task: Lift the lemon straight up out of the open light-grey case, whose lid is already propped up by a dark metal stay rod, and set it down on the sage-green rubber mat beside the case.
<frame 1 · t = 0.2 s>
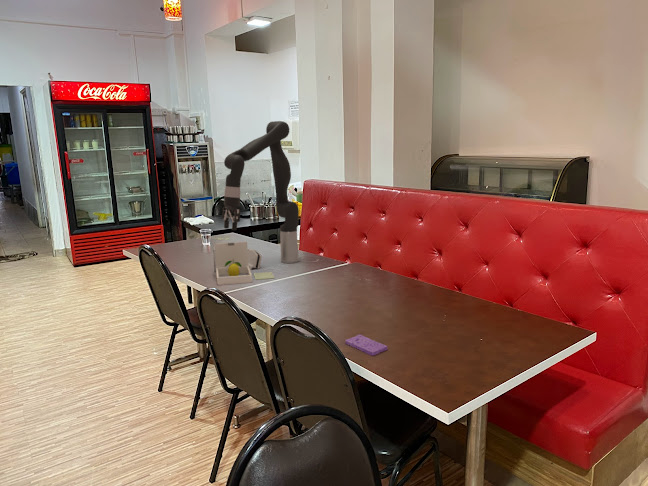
hand: (230, 229, 240), 23 cm above the table, tool pointing down, fingers open, 8 cm apart
case: (233, 278, 237), on the table
mat: (263, 276, 240), on the table
lemon: (233, 279, 237), resting in case
sponges: (366, 348, 157), on the table
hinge: (250, 266, 261), on the table
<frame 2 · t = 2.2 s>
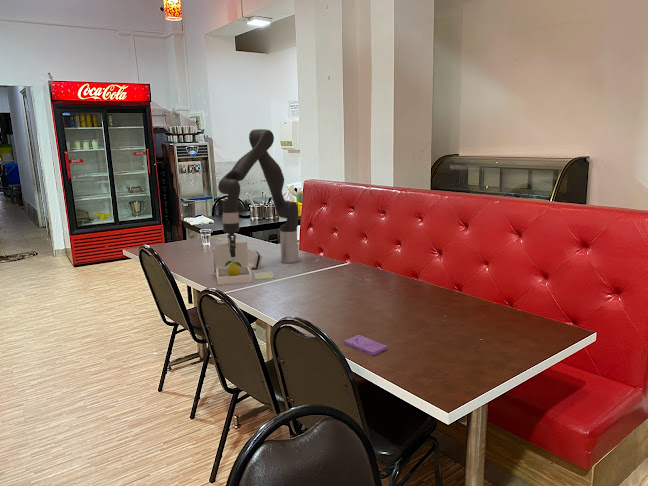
hand: (232, 255, 234), 12 cm above the table, tool pointing down, fingers open, 8 cm apart
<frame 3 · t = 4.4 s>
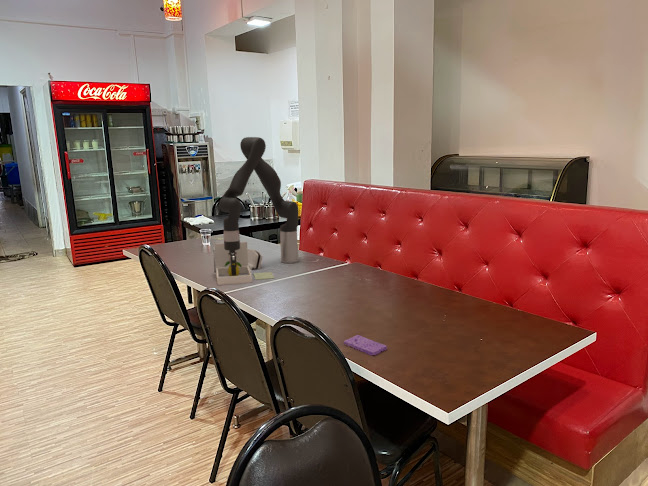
hand: (233, 273, 236), 3 cm above the table, tool pointing down, fingers closed on lemon, 5 cm apart
lemon: (233, 279, 237), resting in case, touching gripper
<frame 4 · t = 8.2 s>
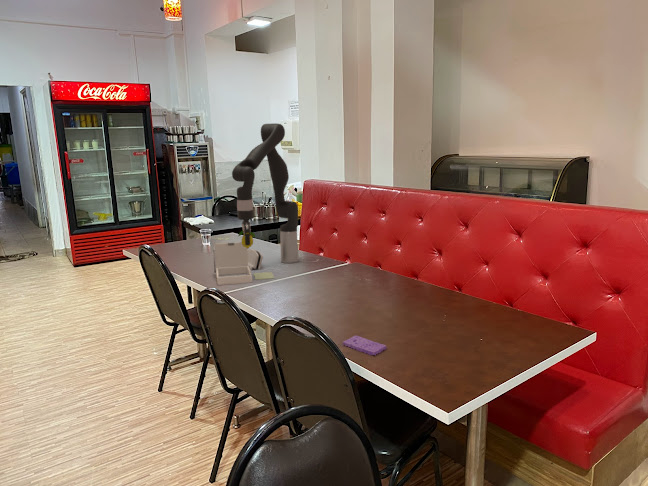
hand: (247, 243, 236), 17 cm above the table, tool pointing down, fingers closed on lemon, 5 cm apart
lemon: (247, 249, 236), point 14 cm above the table, touching gripper
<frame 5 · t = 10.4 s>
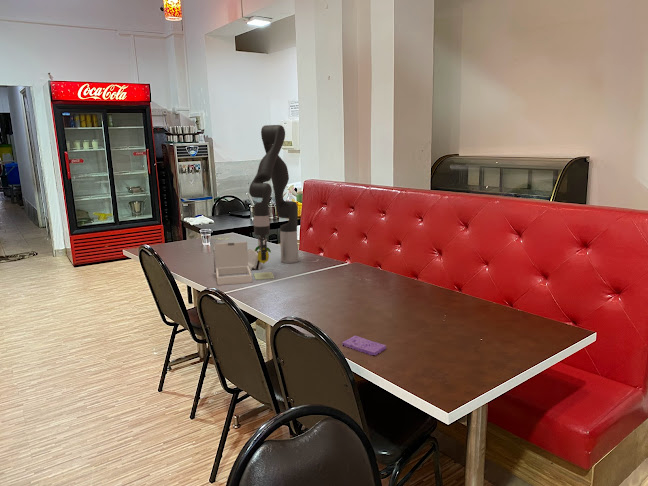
hand: (263, 258, 238), 9 cm above the table, tool pointing down, fingers closed on lemon, 5 cm apart
lemon: (263, 264, 239), point 6 cm above the table, touching gripper
when the fingers open (4 cm above the table, at t = 11.8 s): lemon drops 1 cm, resting on mat.
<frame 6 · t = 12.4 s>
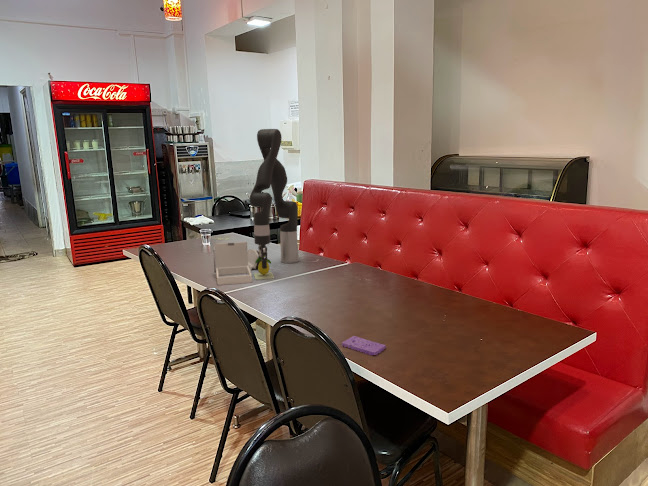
hand: (263, 266, 239), 5 cm above the table, tool pointing down, fingers open, 8 cm apart
lemon: (263, 275, 240), resting on mat
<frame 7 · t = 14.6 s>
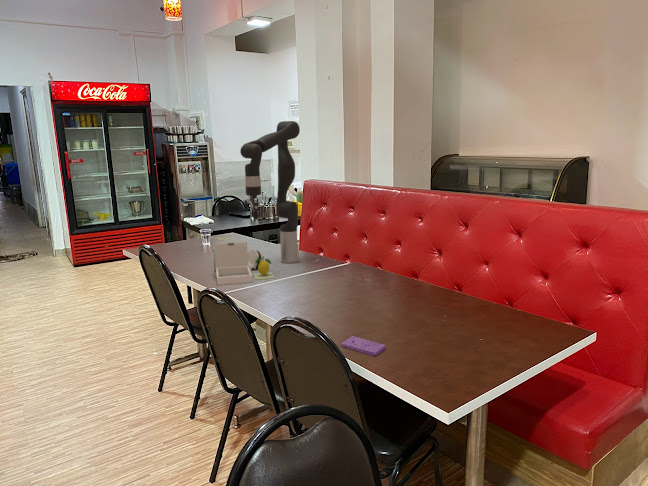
hand: (254, 217, 243), 28 cm above the table, tool pointing down, fingers open, 8 cm apart
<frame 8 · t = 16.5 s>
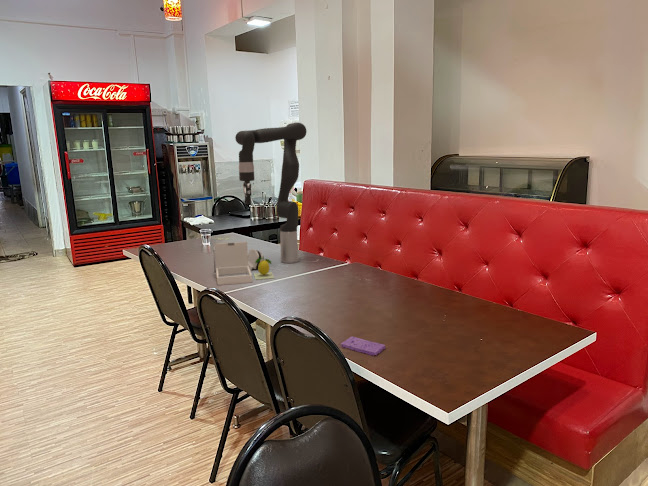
hand: (247, 203, 250), 34 cm above the table, tool pointing down, fingers open, 8 cm apart
at the end: lemon inside the target area on the mat (0.1 cm from its centre), point 0.3 cm above the mat's base; the gripper is holding nothing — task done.
